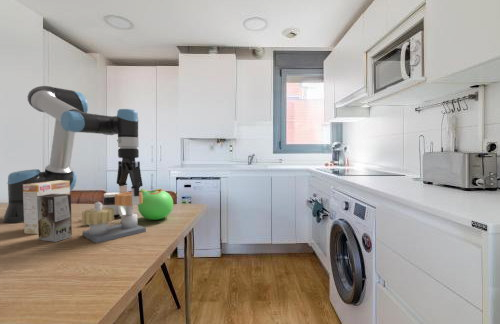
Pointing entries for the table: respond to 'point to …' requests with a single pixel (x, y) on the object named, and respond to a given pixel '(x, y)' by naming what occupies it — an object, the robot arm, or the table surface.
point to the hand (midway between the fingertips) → (129, 202)
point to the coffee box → (54, 217)
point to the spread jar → (113, 204)
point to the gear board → (114, 233)
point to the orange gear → (126, 199)
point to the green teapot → (155, 204)
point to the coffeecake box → (31, 200)
